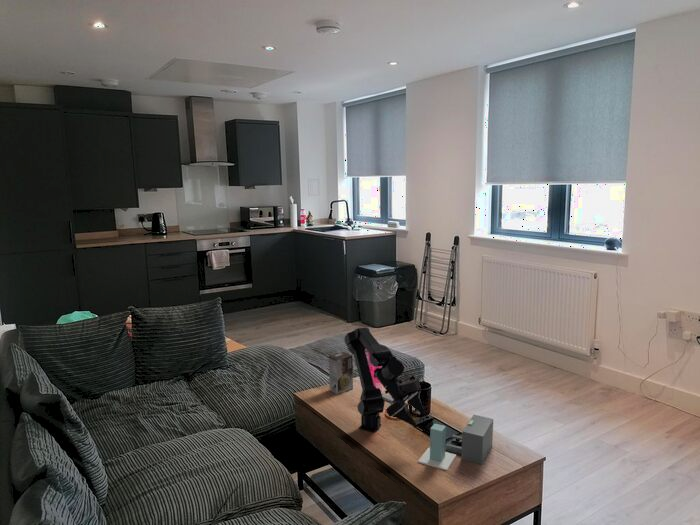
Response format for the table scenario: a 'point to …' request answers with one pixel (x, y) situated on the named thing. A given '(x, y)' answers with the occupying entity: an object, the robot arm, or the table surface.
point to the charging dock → (474, 440)
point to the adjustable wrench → (390, 399)
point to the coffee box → (340, 372)
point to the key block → (437, 442)
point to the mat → (441, 465)
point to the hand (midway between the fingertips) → (420, 419)
